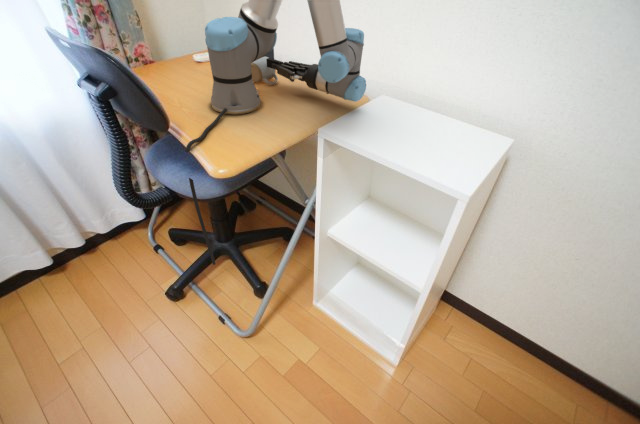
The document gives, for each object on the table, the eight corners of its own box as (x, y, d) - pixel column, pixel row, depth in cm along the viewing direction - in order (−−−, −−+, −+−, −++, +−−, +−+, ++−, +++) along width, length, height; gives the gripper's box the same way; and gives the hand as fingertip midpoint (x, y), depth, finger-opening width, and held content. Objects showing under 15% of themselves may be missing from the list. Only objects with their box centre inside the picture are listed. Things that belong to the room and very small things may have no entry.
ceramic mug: (246, 81, 115) (244, 59, 110) (261, 75, 121) (259, 54, 115) (268, 88, 111) (267, 66, 106) (282, 82, 117) (282, 60, 112)
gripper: (308, 95, 99) (256, 77, 109) (331, 84, 108) (280, 69, 117) (309, 71, 94) (254, 54, 104) (333, 62, 103) (279, 47, 112)
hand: (268, 62), depth 111 cm, fingers closed
